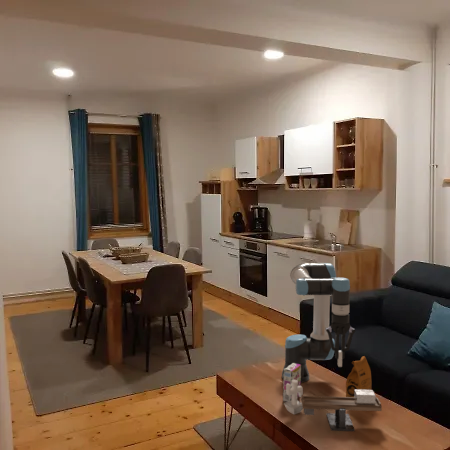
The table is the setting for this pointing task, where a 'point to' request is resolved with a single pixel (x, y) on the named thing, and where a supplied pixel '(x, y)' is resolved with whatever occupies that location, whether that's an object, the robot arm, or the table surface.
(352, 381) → the coffee package
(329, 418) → the pivot stand
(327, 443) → the table surface
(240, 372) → the table surface
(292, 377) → the candy bar box
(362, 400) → the block
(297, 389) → the figurine
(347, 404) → the beam
